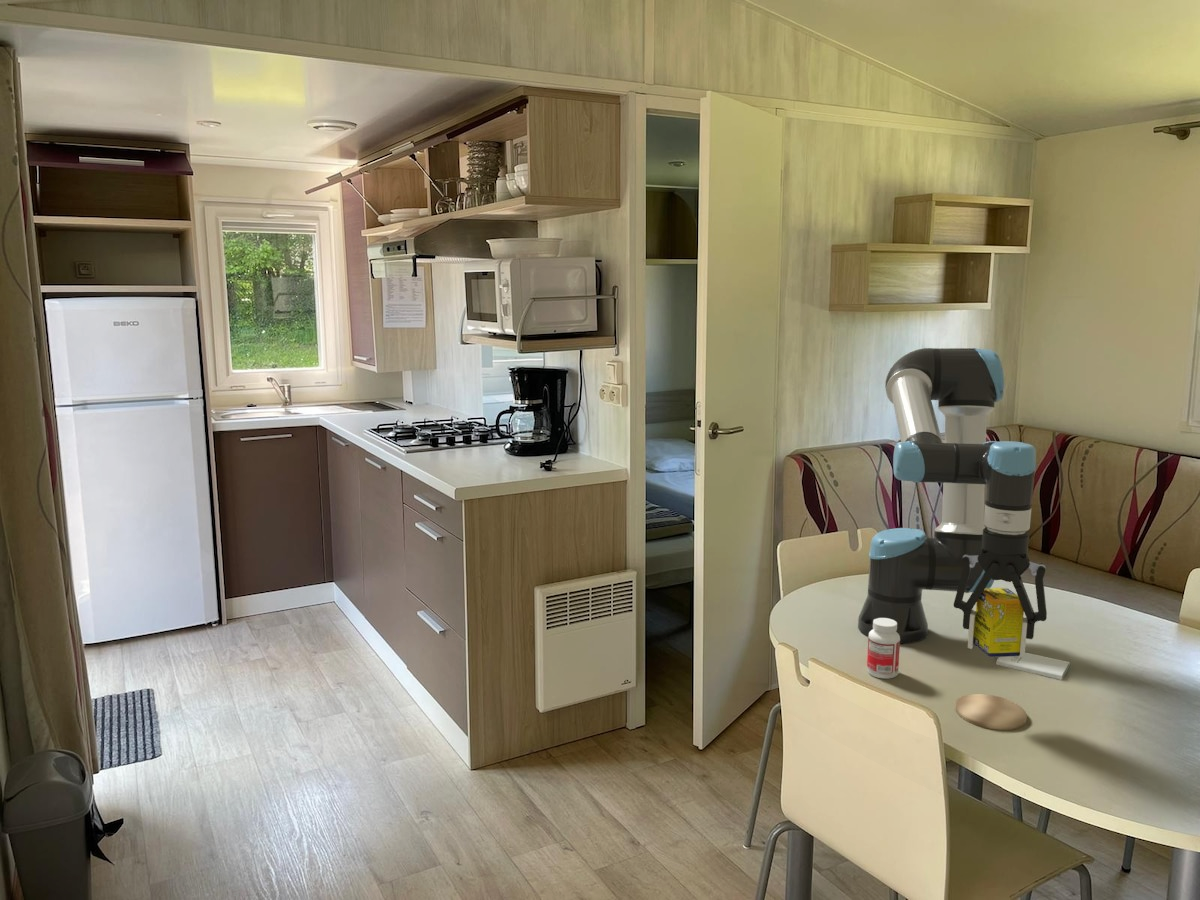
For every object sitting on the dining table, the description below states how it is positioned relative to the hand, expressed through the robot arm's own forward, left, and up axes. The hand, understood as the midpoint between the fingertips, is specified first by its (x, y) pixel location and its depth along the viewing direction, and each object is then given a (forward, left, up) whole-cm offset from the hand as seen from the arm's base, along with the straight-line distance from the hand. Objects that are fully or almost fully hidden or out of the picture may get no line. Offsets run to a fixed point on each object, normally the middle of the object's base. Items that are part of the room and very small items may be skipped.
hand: (996, 649), depth 163 cm
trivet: (0, 0, -13) cm, 13 cm away
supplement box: (0, 0, 0) cm, 1 cm away
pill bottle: (-21, +9, -13) cm, 26 cm away
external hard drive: (+6, +27, -13) cm, 31 cm away
